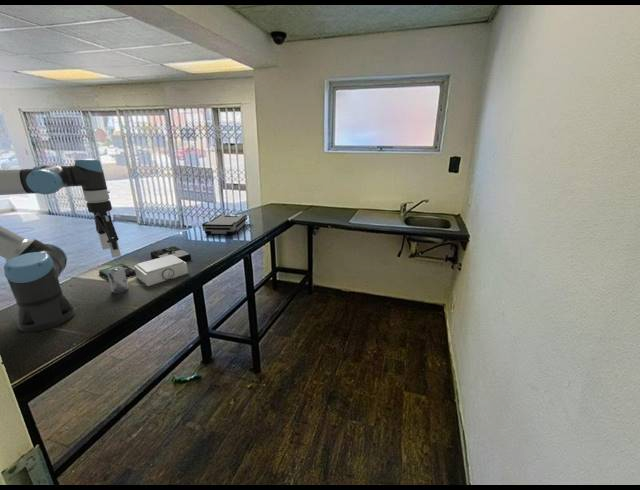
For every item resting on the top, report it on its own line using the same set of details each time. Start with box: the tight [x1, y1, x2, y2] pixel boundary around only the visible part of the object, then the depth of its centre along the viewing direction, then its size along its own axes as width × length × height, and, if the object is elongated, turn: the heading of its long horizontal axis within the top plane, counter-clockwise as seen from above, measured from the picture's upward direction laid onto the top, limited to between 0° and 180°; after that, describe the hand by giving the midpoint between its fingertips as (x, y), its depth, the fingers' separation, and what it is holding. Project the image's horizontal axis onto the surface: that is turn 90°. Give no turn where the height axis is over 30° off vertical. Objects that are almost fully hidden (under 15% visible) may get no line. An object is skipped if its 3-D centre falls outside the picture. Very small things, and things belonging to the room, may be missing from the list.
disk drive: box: [98, 263, 136, 280], centre depth 138 cm, size 10×3×15 cm
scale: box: [133, 255, 189, 287], centre depth 137 cm, size 18×15×6 cm
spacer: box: [107, 267, 129, 294], centre depth 123 cm, size 6×6×10 cm
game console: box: [201, 214, 248, 236], centre depth 209 cm, size 21×32×8 cm, turn 177°
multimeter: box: [150, 246, 192, 262], centre depth 157 cm, size 13×19×5 cm
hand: (111, 252), depth 119 cm, fingers open, 13 cm apart
